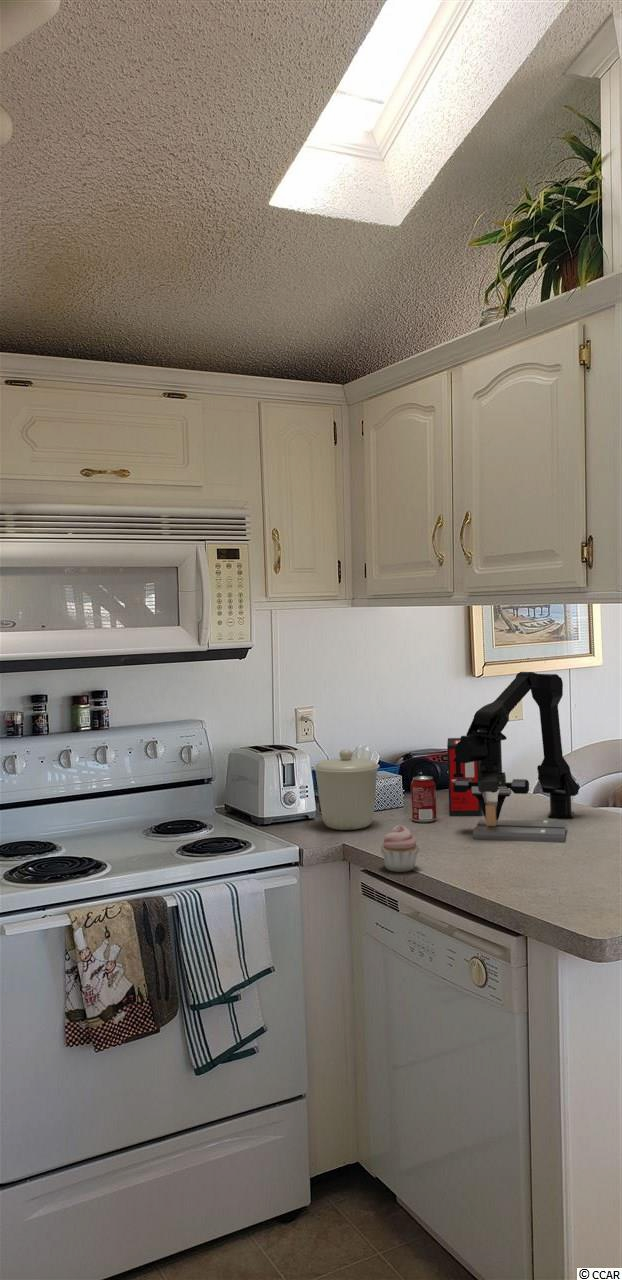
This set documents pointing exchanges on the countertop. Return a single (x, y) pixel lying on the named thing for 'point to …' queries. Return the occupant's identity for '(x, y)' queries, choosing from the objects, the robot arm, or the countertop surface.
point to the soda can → (423, 799)
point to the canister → (347, 791)
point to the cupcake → (399, 850)
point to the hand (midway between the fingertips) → (492, 819)
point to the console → (521, 831)
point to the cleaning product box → (461, 800)
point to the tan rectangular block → (491, 814)
